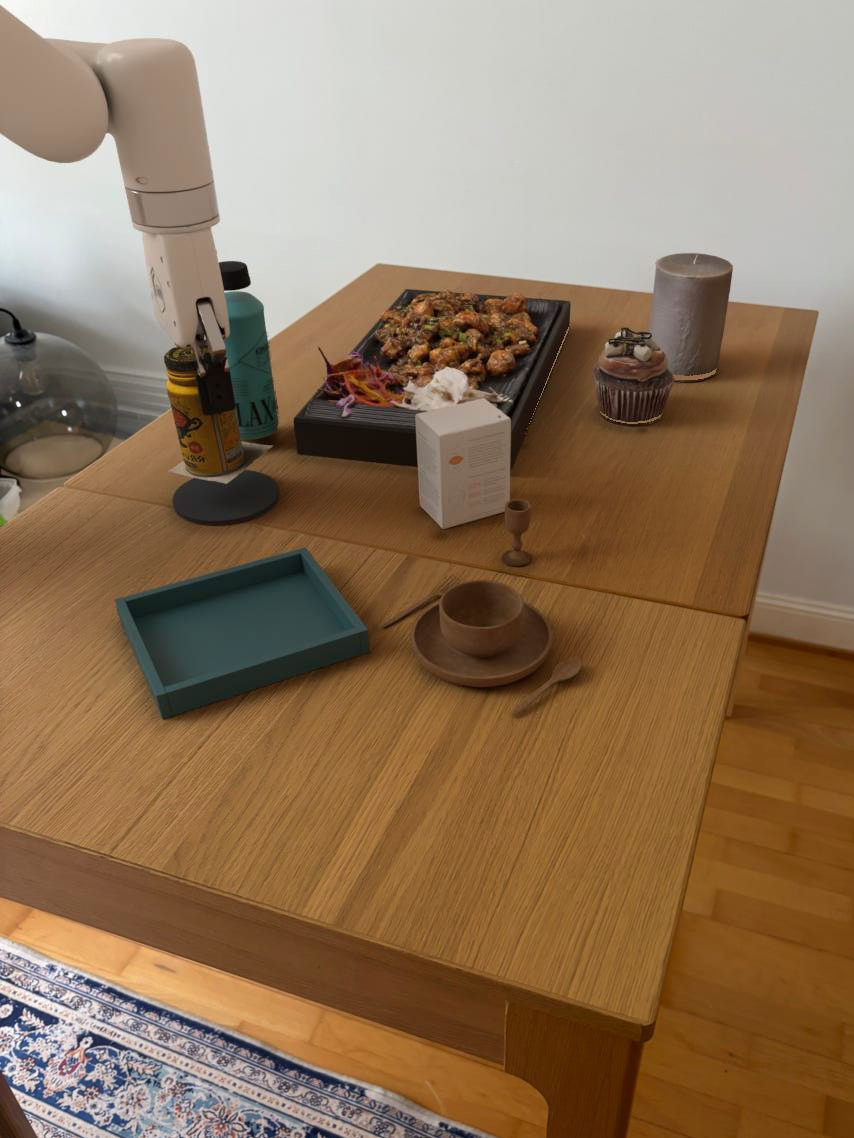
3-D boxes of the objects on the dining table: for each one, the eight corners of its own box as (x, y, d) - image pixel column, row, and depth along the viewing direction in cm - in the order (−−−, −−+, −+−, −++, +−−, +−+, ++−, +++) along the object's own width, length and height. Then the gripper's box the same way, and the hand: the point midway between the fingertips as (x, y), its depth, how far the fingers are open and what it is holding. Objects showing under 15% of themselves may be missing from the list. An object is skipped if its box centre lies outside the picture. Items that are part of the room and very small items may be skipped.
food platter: (508, 476, 107) (510, 386, 101) (297, 453, 111) (286, 367, 105) (569, 331, 142) (573, 258, 136) (406, 318, 146) (402, 247, 140)
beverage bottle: (221, 453, 112) (189, 274, 99) (231, 427, 117) (202, 255, 105) (278, 452, 112) (254, 274, 100) (285, 426, 117) (263, 254, 105)
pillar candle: (715, 356, 134) (732, 243, 125) (719, 385, 127) (738, 267, 118) (644, 353, 136) (656, 240, 126) (643, 381, 128) (656, 263, 119)
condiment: (167, 473, 99) (139, 359, 92) (216, 437, 105) (193, 328, 98) (227, 485, 97) (203, 370, 89) (273, 448, 103) (255, 337, 96)
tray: (162, 719, 76) (156, 696, 75) (120, 621, 86) (113, 599, 85) (370, 652, 83) (368, 629, 81) (308, 568, 93) (305, 546, 91)
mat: (189, 535, 97) (188, 530, 97) (161, 488, 105) (160, 483, 105) (294, 509, 102) (293, 504, 101) (260, 465, 109) (259, 460, 109)
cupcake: (664, 433, 116) (674, 351, 109) (583, 424, 118) (589, 342, 112) (674, 401, 123) (684, 322, 117) (598, 392, 125) (604, 314, 119)
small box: (485, 488, 105) (485, 396, 99) (510, 511, 101) (513, 417, 95) (417, 506, 102) (413, 412, 96) (441, 531, 98) (439, 434, 92)
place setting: (358, 636, 84) (352, 580, 81) (510, 545, 96) (512, 492, 92) (510, 731, 75) (512, 671, 71) (659, 617, 87) (667, 561, 83)
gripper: (108, 189, 90) (149, 375, 101) (155, 235, 78) (196, 441, 89) (189, 179, 93) (220, 362, 104) (246, 223, 81) (274, 424, 92)
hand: (208, 397), depth 96 cm, fingers closed on condiment, 6 cm apart
